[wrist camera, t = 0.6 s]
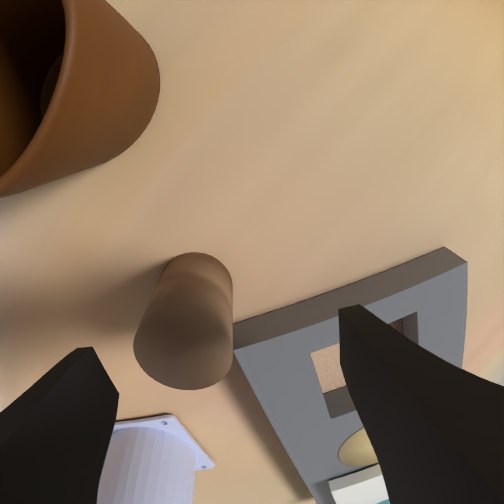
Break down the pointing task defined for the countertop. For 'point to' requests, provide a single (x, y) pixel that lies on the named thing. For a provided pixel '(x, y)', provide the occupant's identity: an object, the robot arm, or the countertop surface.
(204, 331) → the peg
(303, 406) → the housing
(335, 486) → the lid
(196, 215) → the countertop surface
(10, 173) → the mug
